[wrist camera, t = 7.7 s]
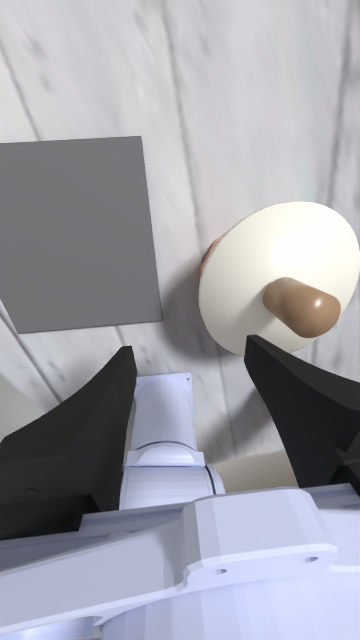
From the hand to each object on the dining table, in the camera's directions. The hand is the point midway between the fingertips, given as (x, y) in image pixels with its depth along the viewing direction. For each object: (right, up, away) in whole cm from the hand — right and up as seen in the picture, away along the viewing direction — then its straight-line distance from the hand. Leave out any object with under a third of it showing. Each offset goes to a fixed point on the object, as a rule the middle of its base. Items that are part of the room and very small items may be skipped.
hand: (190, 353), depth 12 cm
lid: (+7, +5, +4) cm, 10 cm away
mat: (-11, +9, +6) cm, 16 cm away
